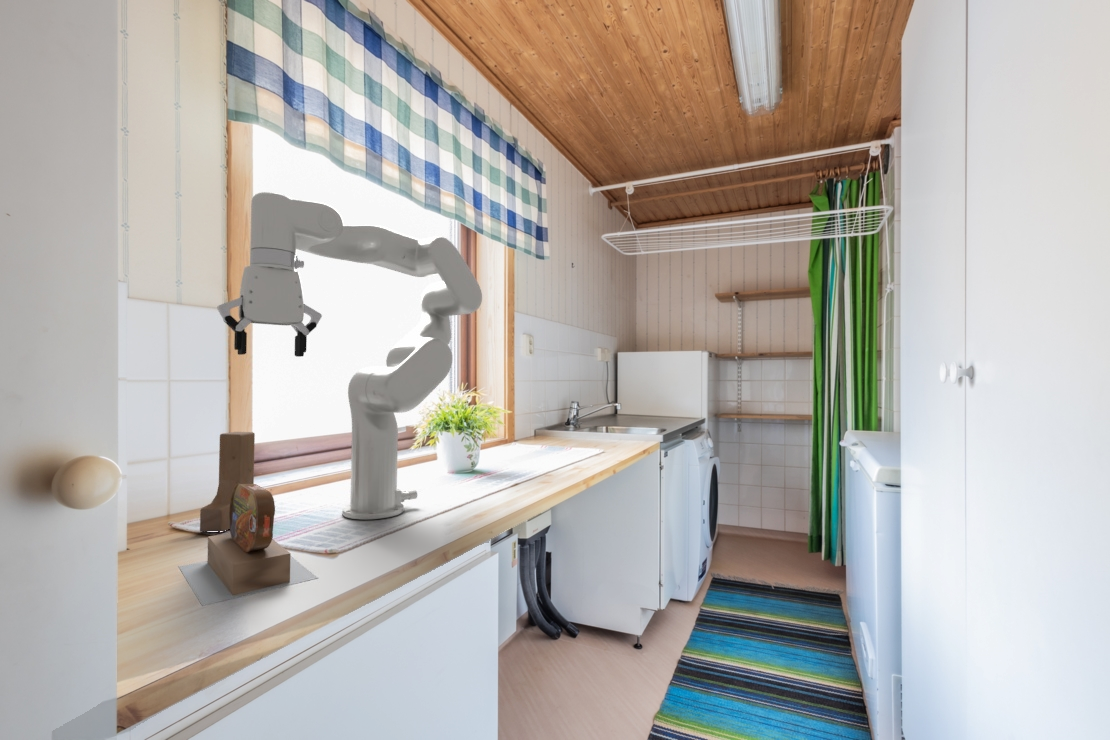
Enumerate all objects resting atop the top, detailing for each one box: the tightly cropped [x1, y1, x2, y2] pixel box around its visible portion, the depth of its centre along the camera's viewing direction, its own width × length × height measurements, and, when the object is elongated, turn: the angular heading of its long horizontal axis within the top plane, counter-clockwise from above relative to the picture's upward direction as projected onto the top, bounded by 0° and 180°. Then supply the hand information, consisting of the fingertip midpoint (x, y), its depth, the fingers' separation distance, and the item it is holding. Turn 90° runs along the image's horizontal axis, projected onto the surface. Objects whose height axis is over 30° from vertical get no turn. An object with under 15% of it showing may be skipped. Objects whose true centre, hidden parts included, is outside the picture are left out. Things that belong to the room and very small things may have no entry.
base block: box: [206, 532, 291, 596], centre depth 78 cm, size 7×16×4 cm, turn 43°
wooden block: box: [199, 431, 256, 532], centre depth 104 cm, size 9×4×18 cm, turn 173°
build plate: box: [178, 554, 319, 607], centre depth 78 cm, size 14×18×1 cm
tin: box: [229, 483, 276, 552], centre depth 78 cm, size 15×3×8 cm, turn 43°
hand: (271, 355), depth 98 cm, fingers open, 9 cm apart
